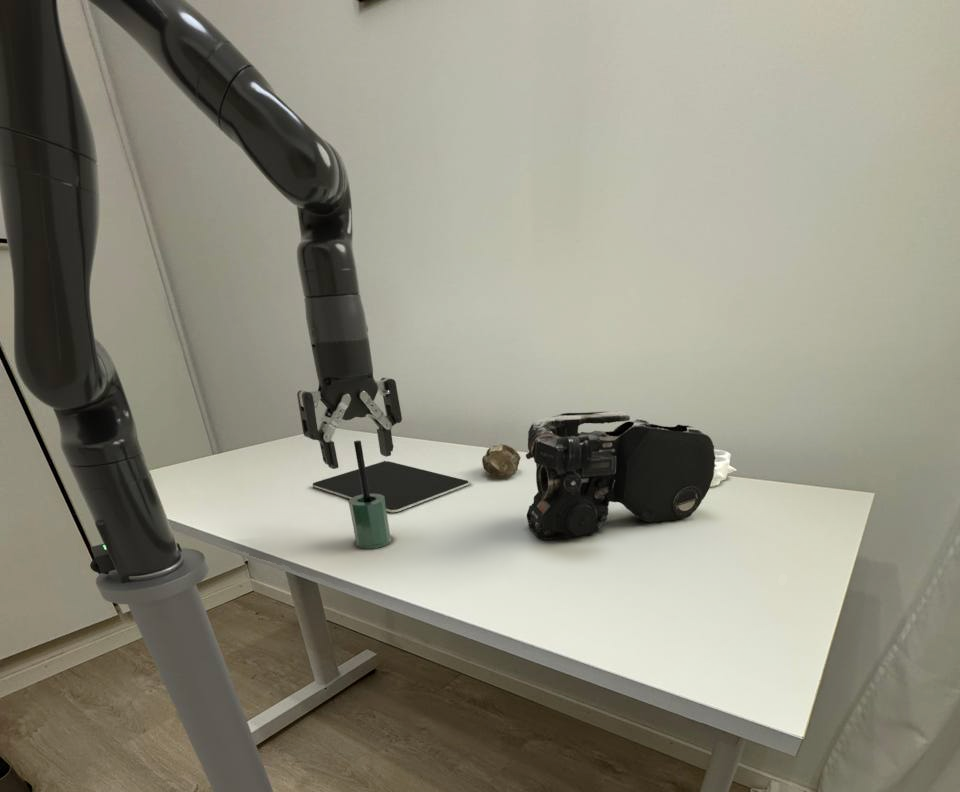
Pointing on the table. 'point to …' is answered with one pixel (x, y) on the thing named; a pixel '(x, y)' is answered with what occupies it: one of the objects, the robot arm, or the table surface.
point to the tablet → (393, 484)
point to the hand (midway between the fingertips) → (360, 461)
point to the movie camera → (614, 472)
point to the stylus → (362, 471)
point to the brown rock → (501, 461)
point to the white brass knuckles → (721, 467)
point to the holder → (370, 521)
